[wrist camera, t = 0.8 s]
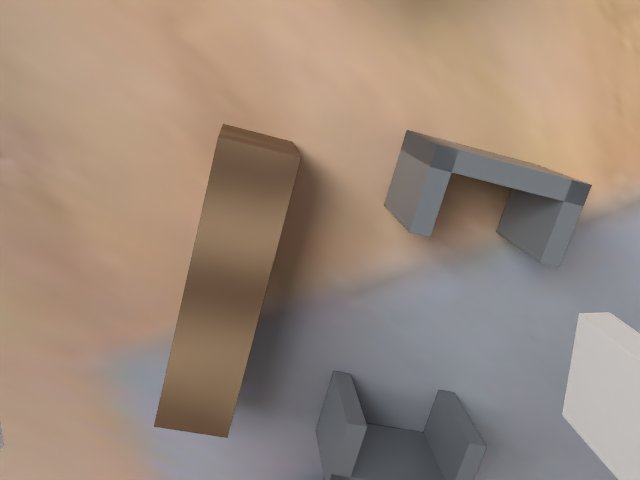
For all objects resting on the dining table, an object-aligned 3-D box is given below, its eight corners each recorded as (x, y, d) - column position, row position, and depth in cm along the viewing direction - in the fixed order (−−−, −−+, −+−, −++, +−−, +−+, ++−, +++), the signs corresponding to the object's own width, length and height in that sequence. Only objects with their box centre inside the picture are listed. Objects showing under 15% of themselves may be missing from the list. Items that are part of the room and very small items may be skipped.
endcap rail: (433, 448, 35) (461, 509, 31) (315, 430, 34) (326, 490, 29) (538, 165, 31) (591, 185, 26) (407, 130, 29) (437, 144, 24)
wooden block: (230, 382, 33) (227, 437, 28) (167, 371, 32) (153, 426, 27) (292, 141, 29) (300, 158, 24) (223, 123, 28) (218, 137, 24)
